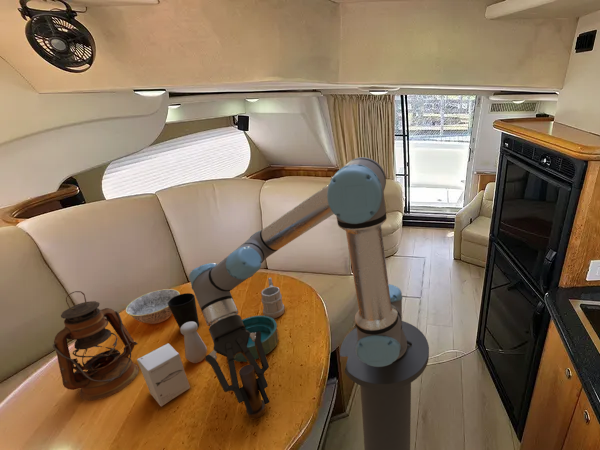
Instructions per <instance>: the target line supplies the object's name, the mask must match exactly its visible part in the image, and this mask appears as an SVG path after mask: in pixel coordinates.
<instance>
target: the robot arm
mask: <svg viewBox="0 0 600 450" xmlns="http://www.w3.org/2000/svg"><path fill="white" fill-rule="evenodd" d="M386 184H387V176H386V173H385V170H384V168H383V167H382V166H381V164H380V163H379V162H378V161H376V160H375V159H372V158H370V157H365V156H363V157H355V158H352V159H351V160H349V161H348V162H347V163H345V165H344V166H342V167H341V168H340V169H338V170H337V171H336V172H335V173H334V175H333V176H331V178H330V181H329V183H328V184H327V185H325V186H324V187H322V188H320V190H318V191H316V192H315V193H314V194H312V195H311V196H309V197H308V198H306V199H305V200H303V201H302V202H301V203H299V204H297V205H296V206H295V207H293V208H292V209H290V210H289V211H287V212H286V213H284V214H283V215H281V216H280V217H279V218H277V219H275V220H274V221H272V222H271V223H269V224H268V225H267V226H264V227H263V229H261V230H260V229H259V230H258V231H256V232H254V233H253V234H252V235H251V236H250V237H249V238H248V239H247V240H246V241H245V242H243V243H241V245H239V246H238V247H237V248H236V249H235V250H233V251H232V252H231V253H230V254H228V256H226V257H224V259H222V260H221V261H220V262H218V263H215V262H208V263H205V264H202V265H201V264H200V265H199V266H197V267H195V268H193V269H192V270H191V271H190V272H189V275H188V278H189V282H190V285H191V289H192V291H193V293H194V296H195V299H196V301H197V303H198V306H199V308H200V311H201V313H202V316H203V319H204V321H205V324H206V326H207V327H209V328H208V331H209V335H210V338H211V339H212V342H213V350H212V351H210V353H208V354H206V357H205V358H204V360H205V362H206V363H207V364H209V365H210V366H211V369H212V371H213V372H214V374H215V376H216V378H217V381H218V383H219V384H220V386H221V389H222V391H223V392H224V393H228V392H233V393H234V395H235V398H236V400H237V403H238V404H241V403H243V404H244V406H245V409H247V411H248V414H249V415H250V414H252V413H253V410H252V408H251V405H250V402H249V400H248V397H247V395H246V392H245V390H244V387H243V386H242V385H241V387H240V383H239V378H238V373H237V369H236V368H237V367H236V364H235V360H234V356H235V355H236V354H238V353H242V354H243V356H244V357H245V358H246V360H247V363H248V365H253V367H254V371H255V375H256V379H257V383H258V387H259V392H260V396H261V399H262V400H263V401H264V403H265V405H268V404H269V403H271V401H270V399H269V397H268V394H267V392H266V389H267V388H269V383H268V381H267V379H266V376H265V374H266V371H268V370H269V368H270V365H269V364H270V363H269V361H268V358H267V354H266V355H265V352H264V349H263V346H262V343H261V332H260V331H258V332H257V333H250V332H249V331H247V330H246V328H245V326H244V324H243V321H242V320H243V319H242V317H241V315H240V314H239V309H238V307H237V305H236V302H235V300H234V297H233V295H232V292H231V291H232V290H234V289H235V288H236V287H238V286H239V285H241V284H242V283H243V282H245V281H246V280H248V279H250V278H252V277H253V276H254V275H255V274H256V273H257V272H259V271H260V270H261V268H262V264H263V262H264V261H266V260H267V258H269V257H270V256H271V255H273V254H274V253H276V252H277V251H279V250H280V249H281V248H283V247H285V246H287V245H288V244H290V243H291V242H293V241H294V240H296V239H298V238H299V237H300V236H302V235H304V234H306V233H307V232H308V231H310V230H311V229H314V227H317V226H318V225H319V224H321V223H323V222H324V221H325V220H327V219H328V218H331V217H332V216H334V215H335V216H336V222H337V227H339V229H342V230H343V231H344V232H345V236H346V242H347V246H348V252H349V253H348V254H349V258H350V264H351V271H352V276H353V282H354V283H353V284H354V288H355V295H356V300H357V306H358V310H357V311H356V313H355V315H354V322H355V323H354V324H355V328H356V329H357V334H358V341H357V343H356V354H357V356H358V358H359V359H360V360H361V361H362V362H363V363H366V364H367V365H370V366H374V367H383V366H387V365H390V364H392V363H395V362H397V361H399V360H400V359H401V358H403V357H404V355H405V354H406V351H407V344H409V345H412V343H411V342H409V341H407V339H406V337H405V334H404V332H403V329H402V321H403V294H402V290H401V289H400V287H398V286H396V285H394V284H389V278H388V277H389V276H388V270H387V262H386V261H387V260H386V253H385V245H384V236H383V229H382V226H383V224H385V222H386V221H387V210H386V202H385V200H386V199H385V188H386ZM249 338H251V339H252V341H255V346H256V350H257V353H258V356H259V358H258V359H259V362H260V365H259V364H258V362H257V359H256V360H255V359H254V357H253V356H252V354H251V353H250V351H249V349H248V347H247V344H248V340H249ZM217 354H219V355H221V356H223V357H225V358H226V362H227V367H228V373H229V377H230V382H231V383H230V384H229V382H228V380H227V378H226V376H225V375H224V372H223V371H222V369H221V366H220V364H219V363H218V361H217V359H218V356H217Z"/></svg>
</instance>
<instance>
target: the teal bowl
mask: <svg viewBox="0 0 600 450" xmlns="http://www.w3.org/2000/svg"><path fill="white" fill-rule="evenodd" d="M242 321H243V324H244V326H245V328H246V330H247V331H249V332H250V333H257V332H258V331H260V332H261V343H262V346H263V349H264V352H265V355H266V356H267V355H268V354H269V353H271V352H272V351H273V350H274V349H275V348H276V346H277V345H278V344H279V340H280V333H279V328H278V323H277V321H276V319H275V318H271V317H268V316H265V315H252V316H249V317H245V318H243V319H242ZM247 347H248V349H249V351H250V353H251V354H252V356H253V357H254V359H255V360H256V361H257V360H258V359H259V356H258V353H257V350H256V346H255V341H252V339H251V338H249V340H248V344H247ZM234 362H238V363H240V362H242V363H248V361H247V360H246V358H245V357H244V356H243V354H242V353H238V354H236V355H235V356H234Z"/></svg>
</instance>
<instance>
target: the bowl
mask: <svg viewBox="0 0 600 450" xmlns="http://www.w3.org/2000/svg"><path fill="white" fill-rule="evenodd" d="M180 294H181V292H180V291H179V290H177V289H173V288H171V289H170V288H164V289H158V290H154V291H151V292H148V293H145V294H142V295H140V296H139V297H137V298H134V299H133V300H132V301H130V303H129V304H128V305H127V306H126V308H125V313H126V314H127V315H129V316H130V317H132V318H133V319H134V320H136V321H138V322H140V323H144V324H151V325H155V324H160V323H162V322H164V321H166V320H168V319H169V318H170V317H171V316H172V315H173V314H172V312H171V310H170V308H169V305H168V302H169V300H170V299H172V298H173V297H175V296H178V295H180Z"/></svg>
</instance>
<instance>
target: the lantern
mask: <svg viewBox="0 0 600 450" xmlns="http://www.w3.org/2000/svg"><path fill="white" fill-rule="evenodd" d="M74 293H81V294H82V295H83V297H84V302H80V303H76V304H75V305H73V306H70V304H69V303H68V298H69V296H70V295H73V294H74ZM65 302H66V304H67V306H68V308H66V309H65V310H63V311H62V312H61V314H60V317H61V319H64V321H63V324H64V328H63V329H61V330H60V331H59V332H57V334H56V335H55V336H54V339H53V344H52V348H53V349H54V350H55V352H56V357H57V362H58V367H59V368H58V369H59V371H60V372H59V373H60V375H61V380H62V385H63V386H64V388H65V389H66V390H70V391H74V390H78V389H80V390H79V397H80V399H82V400H83V401H97V400H98V401H99V400H102V399H104V398H108V397H110V396H113V395H114V394H116V393H119V392H120V391H122V390H123V389H125V388H127V387H128V386H129V385H130V384H131V383H132V382H133V381H135V379H136V378H137V376H138V375H139V372H140V366H139V365H137V364H136V363H134V362H133V360H132V352H133V351H134V349H135V346H137V345H139V344H138V342H137V341H135V340H134V338H133V337H132V335H131V333H130V332H129V330H128V329H127V328H126V326H125V325H124V323H123V320H122V318H121V315H120V312H118V311H117V310H114V309H112V308H108V307H106V308H105V307H104V308H102V309H100V308H99V307H100V305H101V304H100V302H99V301H96V300H91V301H87V299H86V294H85V293H84V292H83V291H81V290H75V291H72V292H71V293H69V294H67V295H66V297H65ZM108 325H110V326H111V327H112V329H113V330H114V332H115V333H116V334H117V335H116V334H115V333H114V332H112V331H111V329H109V328H106V327H107V326H108ZM112 335H113V336H115V341H114V342H113V344H112V347H108V346H104V348H105V349H108V350H104V351H102V352H99V353H97V354H95V355H86V354H87V352H88V350H89V349H92V348H103V346H102V345H101V344H103V343H105V342H106V341H108V340H109V338H110V337H111V336H112ZM118 337H119V338H118ZM118 339H120V340H121V342H122V343H123V345H124V347H123V352H122V353H121V351H119V349H116V347H117V345H118ZM68 340H70V341H71V340H72V341H73V340H74V343H73V344H74V346H73V347H74V349H75V350H73V351H72V355H73V356H74V357H76V358H72V357H71V353H70V349H69V344H68ZM80 350H81V351H82V350H84V352H83V354H82V355H79V354H77V353H78V352H80ZM78 358H81V362H79V360H78ZM84 358H89V359H87V361H85V362H84ZM81 363H82V364H81ZM74 370H75V371H74Z"/></svg>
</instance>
